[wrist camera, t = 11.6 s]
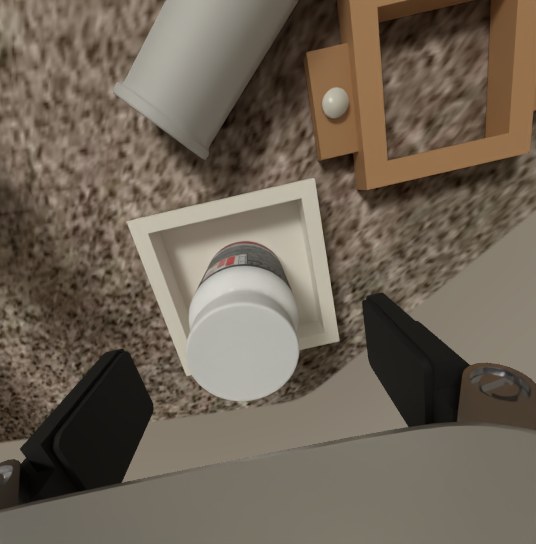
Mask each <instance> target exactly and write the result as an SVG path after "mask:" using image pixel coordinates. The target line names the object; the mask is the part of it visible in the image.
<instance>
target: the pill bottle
mask: <svg viewBox="0 0 536 544" xmlns="http://www.w3.org/2000/svg"><path fill="white" fill-rule="evenodd" d="M298 325H299V310H298V305H297V302H296V299H295V296H294V294H293V291H292V289H291V287H290V284H289V282H288V280H287V277H286V275H285V272H284V270H283V267H282V265H281V262H280V260H279V259H278V257H277V256H276V255H275V254H274V253H273V252H272V251H271V250H270V249H269V248H267V247H266V246H264V245H262V244H260V243H257V242H252V241H239V242H234V243H231V244H229V245H227V246H225V247H224V248H222V249H221V250H220V251H218V252H217V254H216V255H215V256H214V257H213V259H212V260H211V262H210V264H209V266H208V268H207V270H206V272H205V274H204V276H203V278H202V280H201V282H200V284H199V286H198V288H197V290H196V292H195V294H194V296H193V298H192V301H191V305H190V309H189V328H190V333H189V336H188V340H187V343H186V361H187V365H188V368H189V370H190V372H191V374H192V376H193V378H194V379H195V380H196V381H197V382H198V383H199V385H200V386H201V387H203V388H204V389H205V390H207V391H208V392H210V393H212V394H214V395H216V396H218V397H220V398H223V399H228V400H234V401H249V400H255V399H259V398H262V397H265V396H267V395H270V394H271V393H273V392H275V391H277V390H278V389H279V388H281V387H282V386H283V385H284V384H285V383H286V382H287V381H288V380H289V378H290V377H291V375H292V374H293V372H294V370H295V368H296V365H297V363H298V358H299V341H298V337H297V334H296V333H297V330H298Z"/></svg>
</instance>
